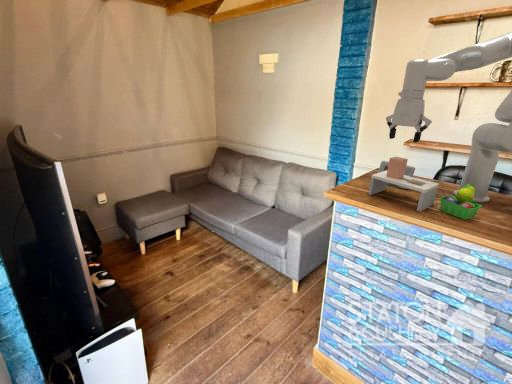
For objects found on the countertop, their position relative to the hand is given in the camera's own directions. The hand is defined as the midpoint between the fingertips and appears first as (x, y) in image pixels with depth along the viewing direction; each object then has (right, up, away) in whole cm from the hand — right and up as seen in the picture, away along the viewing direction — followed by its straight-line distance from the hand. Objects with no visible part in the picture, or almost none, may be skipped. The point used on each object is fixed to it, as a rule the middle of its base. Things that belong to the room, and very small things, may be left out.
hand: (403, 140), depth 110 cm
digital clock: (+7, -18, +23) cm, 30 cm away
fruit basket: (+17, -29, -6) cm, 35 cm away
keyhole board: (+2, -24, +6) cm, 25 cm away
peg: (-1, -18, +7) cm, 19 cm away
